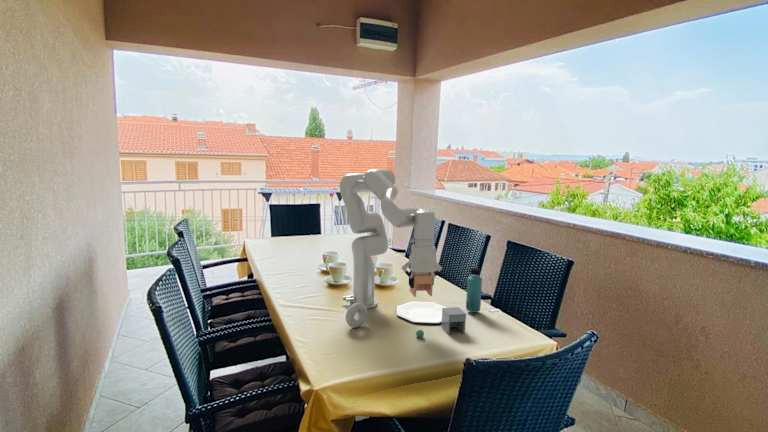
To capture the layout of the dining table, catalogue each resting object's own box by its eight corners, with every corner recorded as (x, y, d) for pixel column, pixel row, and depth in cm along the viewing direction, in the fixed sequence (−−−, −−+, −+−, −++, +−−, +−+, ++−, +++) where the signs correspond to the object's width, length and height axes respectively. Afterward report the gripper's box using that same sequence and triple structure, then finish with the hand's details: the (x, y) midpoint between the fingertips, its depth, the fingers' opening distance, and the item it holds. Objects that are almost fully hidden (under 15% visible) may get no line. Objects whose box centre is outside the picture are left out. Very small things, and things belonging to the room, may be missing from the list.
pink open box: (414, 296, 152) (415, 276, 151) (409, 290, 159) (410, 270, 157) (432, 296, 153) (433, 276, 152) (426, 289, 160) (427, 270, 159)
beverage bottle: (481, 310, 179) (483, 267, 176) (479, 316, 172) (482, 271, 170) (466, 308, 181) (468, 265, 178) (464, 314, 174) (466, 269, 172)
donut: (348, 332, 153) (349, 307, 152) (343, 329, 156) (343, 304, 154) (369, 325, 160) (369, 301, 159) (363, 322, 162) (364, 299, 161)
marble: (417, 339, 149) (417, 331, 148) (414, 336, 151) (415, 328, 151) (424, 338, 149) (425, 331, 149) (422, 335, 152) (422, 327, 152)
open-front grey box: (447, 334, 153) (449, 314, 152) (441, 327, 160) (442, 308, 159) (464, 333, 155) (466, 313, 154) (457, 325, 162) (458, 307, 161)
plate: (396, 303, 186) (396, 300, 185) (447, 305, 185) (447, 302, 185) (396, 324, 162) (396, 321, 162) (455, 327, 162) (455, 323, 161)
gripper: (403, 244, 147) (401, 291, 150) (448, 244, 151) (445, 289, 154) (399, 240, 155) (397, 284, 157) (441, 240, 158) (439, 283, 161)
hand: (420, 286), depth 156 cm, fingers closed on pink open box, 7 cm apart
